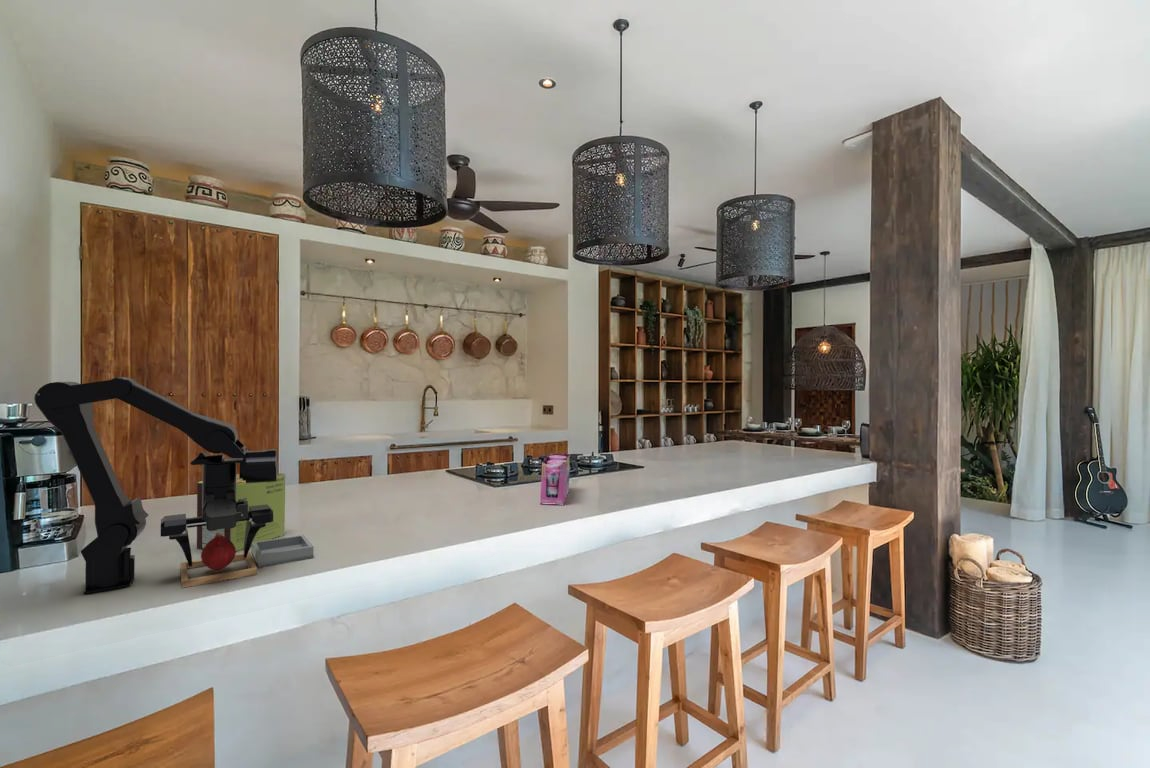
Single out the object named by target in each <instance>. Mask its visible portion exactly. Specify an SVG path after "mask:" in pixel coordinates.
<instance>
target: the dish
mask: <svg viewBox="0 0 1150 768" xmlns="http://www.w3.org/2000/svg"><path fill="white" fill-rule="evenodd" d="M251 555H252V558H253V560H254V562H255V565H256V564H257V565H256V567H257V568H262V567H261V566H263V567H267V566H266V565H269V566H274V565H273V564H275V565H279V564H280V565H281V564H285V562H286V563H291V562H297V561H301V560H309V559H313V558H314V545H313V544H312V542H310V540H309V539H308V537H306V535H304V534H299V535H293V536H286V537H284V536H283V537H280V538H279V537H277V538H274V539H271V540H264V541H258V542H252V546H251ZM278 563H279V564H278Z"/></svg>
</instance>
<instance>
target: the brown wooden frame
mask: <svg viewBox="0 0 1150 768" xmlns="http://www.w3.org/2000/svg"><path fill="white" fill-rule="evenodd" d="M244 560H245V561H246V564H247V566H248V568H244V569H239V570H234V571H233V570H232V571H227V572H223V573H222V572H221V573H216V574H210V575H203V576H199V577H198V576H197V577H193V578H188V569H187V568H190V569H195V568H194V567H196V568H200V567H201V566H202V567H206V566H205V565H204V563H203V562H202V559H198V560H192V566H191V567H189V564H188V562H187V561H184V562H180V579H181V580H180V582H181V589H185V588H190V586H191V587H195V586H202V585H207V584H211V583H212V582H213V583H218V582H223V580H224V581H228V580H227V579H229V580H234V578H235V579H240V578H245V576H246V577H251V576H254V575H255V576H257V575H258V567H257V565H256V562H255V560H254V558H253V556H252V552H250V551H249V552H248V554H247V557H246V558H244V552H241V553H236V554H235V557H234V559H233V561H232V562H238V561H244ZM256 574H257V575H256ZM217 581H218V582H217ZM213 583H212V584H213ZM201 584H202V585H201ZM184 587H185V588H184Z"/></svg>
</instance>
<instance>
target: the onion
mask: <svg viewBox="0 0 1150 768" xmlns="http://www.w3.org/2000/svg"><path fill="white" fill-rule="evenodd" d="M201 550H202V551H201V553H200V558H201V559H200V560H202V562H203V563H204V565H205V566H204V567H207V568H208V569H210V570H212V571H213V572H215V573H219V572H222V570H224V569H226V568H227V567H228V566H229V565H230V564H231V563H232V562H234V561H233V559H234V557H235V554H237V553H236V552H237V551H236V548H235V546H234V544H233V543H232V542H231V541H230V540H229V539H228V538H226V537H224V536H222V535H221V534H220V533H219V532H216V535H215V538H213V539H212V540H210V541H209V542H208V543H207V544H206V546H205V547H204V548H203V549H201Z"/></svg>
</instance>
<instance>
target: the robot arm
mask: <svg viewBox="0 0 1150 768" xmlns="http://www.w3.org/2000/svg"><path fill="white" fill-rule="evenodd" d="M33 399H34V404H35V405H36V407H37V408H38V409H39V410H40V412H41V413H42V415H43V417H45V419H46V420H47V421H48V422H49V423H50V424H51V425H53V427H54V428H55V429H57V430H58V431H59V432H60V433H61V435H62V437H63V438H64V441H65V443H66V445H67V448H68V449H69V451H70V454H71V456H72V458H73V460H74V462H75V465H76V466H77V469H78V471H79V474H80V476H81V478H82V480H83V483H84V485H85V486H86V489H87V492H89V495H90V498H91V500H92V501H93V504H94V525H95V531H96V535H97V537H95V538H94V539H93V540H92V541H91V542H89V543H88V544H87V545H86V546H85V547H84V548H82V549H81V550H80V554H81V556H82V558H83V560H84V562H85V568H84V569H85V573H84V574H85V578H84V579H85V581H84V583H85V585H84V589H83V593H82V594H83V595H85V594H93V593H98V592H103V591H104V592H105V591H110V590H117V589H120V588H121V589H122V588H126V587H127V588H128V587H130V586H131V584H132V581H134V580H135V576H136V556H135V554H132V547H129V546H131V545H132V542H134V541H135V540H136V539H137V538H138V537H139V536H140V535H141V534H142V533H143V532H144V530H145V528H146V526H147V518H148V516H149V513H147V512H146V511H145V509H144V508H143V507H144V506H143V502H142V499H141V497H137V498H134V499H133V500H132V499H130V497H128V496H127V495H126V494H125V492H124V491H123V489H122V486H121V484H120V482H119V480H118V478H117V475H116V473H115V471H114V469H113V467H112V464H111V462H110V460H109V458H108V455H107V453H106V451H105V449H104V448H105V447H103V444H102V442H101V439H100V437H99V435H98V433H97V430H96V429H95V426H94V407H93V403H97V402H99V403H100V402H103V401H104V402H105V401H110V400H120V401H122V402H124V403H126V404H128V405H130V406H132V407H134V408H135V409H138V410H140V411H142V412H144V413H146V414H148V415H149V416H152V417H154V418H156V419H158V420H160V421H162V422H164V423H165V424H167V425H170V426H172V427H173V428H176V429H178V430H180V431H181V432H182V433H184V434H185V435H186V436H187V437H188V438H190V440H192V441H193V442H194V443H195V444H196V445H198V446H200V447H201V448H202V449H204V450H205V451H207V452H209V453H210V454H207V453H206V452H205V451H204V450H203V451H200V452H199V453H198V455H197V456H196V457H195V458H194V459H193V460H191V461H190V462H189V463H190V465H191V466H200V465H202V480H201V481H202V517H197V516H196V517H195V516H194V517H187V516H186V515H187V514H186V513H180V514H179V513H178V514H171V515H164V516H163V517H162V518H160V537H163V538H165V537H168V539H169V540H173V541H174V540H175V541H176V542H177V543H178V545H179V546H180V547H181V549H182V552H183V554H184V557H185V560H186V562H188V564H189V567H191V566H192V561H193V557H192V552H191V551H192V550H191V544H190V539H189V532H188V529H190V528H197V527H199V526H206V528H207V530H208V531H216V530H218V529H225V528H227V529H231V528H234V527H236V522H238V521H246V520H247V524H246V532H245V540H244V549H243V553H244V558H246V557H247V554H248V552H250V548H252V546H251V544H252V541H253V539H254V537H255V535H256V533H257V532H258V530H259V529H260V528H262V527H265V526H266V523H271V522H273V510H272V509H271V507H270V506H268V505H267V504H266V505H258V506H249V511H248V501H238V502H236V475H237V464H239V467H238V468H239V470H238V471H239V472H238V474H239V476H240V479H243V480H246V483H261V482H277V473H278V465H279V464H278V462H277V449H273V448H272V449H271V448H270V449H265V450H249V449H248V448H247V447H246V445H244V444H243V442H241V441H240V439H239V434H238V431H237V428H236V427H235V426H234V425H233V424H230V423H228V422H225V421H222V420H219V419H216V418H213V417H210V416H206V415H202V414H199V413H196V412H194V411H191V410H190V409H188V408H186V407H184V406H183V405H180V404H179V403H176V402H174V401H172V400H170V399H169V398H167V397H165V396H162V395H161V394H159V393H157V392H155V391H153V390H151V389H150V388H148V387H145V386H144V385H142V384H140V383H138V382H137V381H136V380H135V379H133V378H131V377H127V376H126V377H125V376H124V377H121V376H120V377H115V378H112V379H108V380H100V381H95V382H94V381H92V382H86V383H79V382H76V381H54V382H48V383H46V384H43V385H42V386H40V387H39V388H38V389H37V391H36V393H35V394H34V398H33ZM225 456H226V457H229V458H225ZM116 588H117V589H116Z"/></svg>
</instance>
